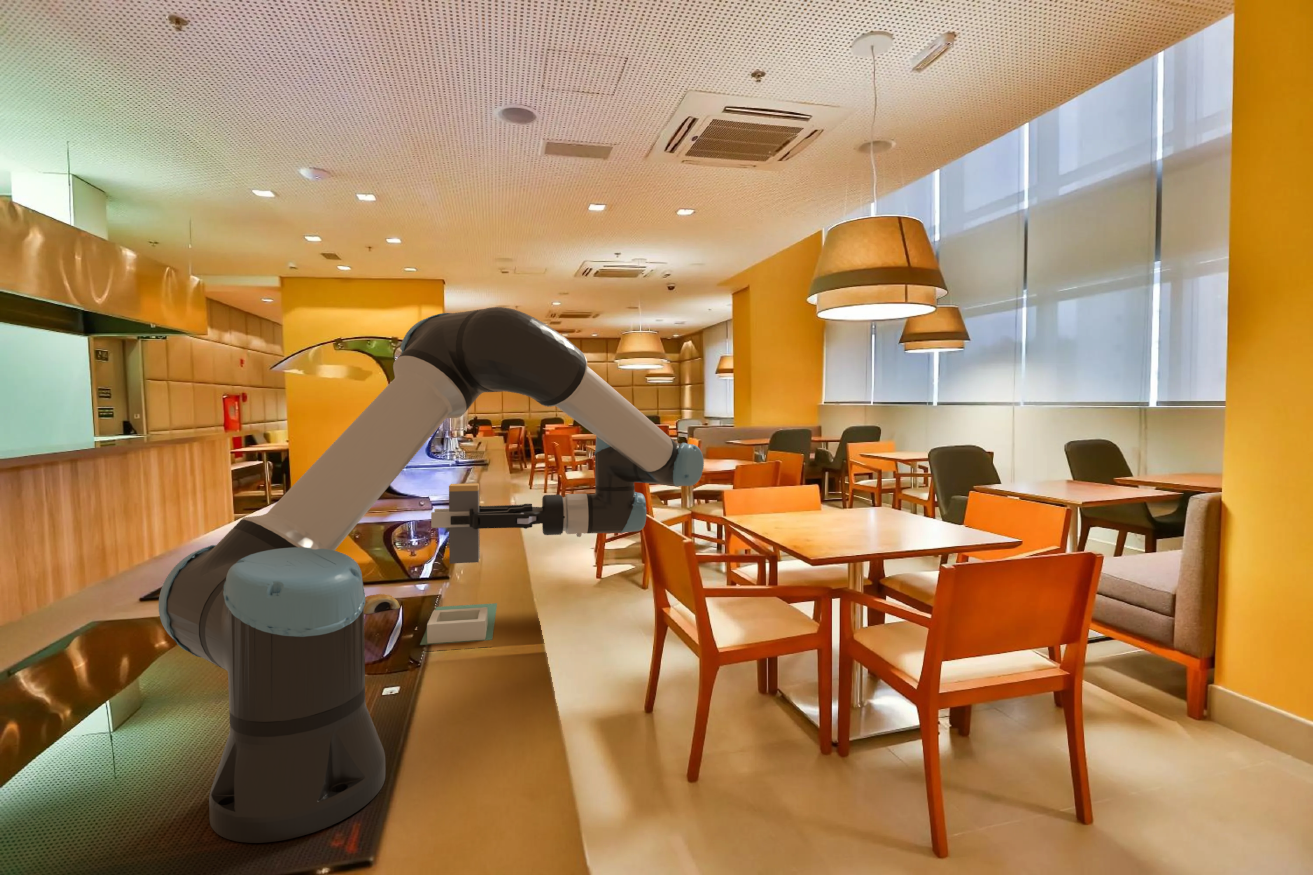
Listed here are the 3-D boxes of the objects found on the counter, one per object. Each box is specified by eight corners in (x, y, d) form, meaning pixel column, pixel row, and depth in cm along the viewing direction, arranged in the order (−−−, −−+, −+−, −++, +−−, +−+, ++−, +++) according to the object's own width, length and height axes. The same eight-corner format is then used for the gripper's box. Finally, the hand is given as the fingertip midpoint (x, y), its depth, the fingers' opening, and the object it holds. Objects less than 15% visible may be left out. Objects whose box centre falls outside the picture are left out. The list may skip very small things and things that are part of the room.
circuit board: (492, 646, 103) (492, 639, 103) (419, 652, 101) (419, 644, 101) (497, 609, 123) (497, 603, 123) (436, 613, 121) (436, 606, 121)
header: (485, 639, 103) (484, 620, 103) (427, 643, 101) (427, 624, 101) (487, 624, 111) (487, 607, 110) (433, 627, 109) (433, 610, 109)
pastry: (351, 610, 123) (351, 590, 123) (388, 603, 128) (388, 584, 127) (365, 622, 116) (365, 601, 116) (403, 615, 120) (403, 595, 120)
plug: (478, 562, 117) (477, 485, 117) (449, 563, 116) (448, 485, 116) (479, 558, 121) (479, 483, 120) (451, 559, 120) (451, 483, 119)
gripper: (566, 542, 114) (426, 547, 109) (561, 526, 130) (439, 530, 125) (566, 500, 113) (426, 503, 109) (561, 489, 130) (438, 492, 125)
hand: (433, 518), depth 117 cm, fingers closed on plug, 4 cm apart
